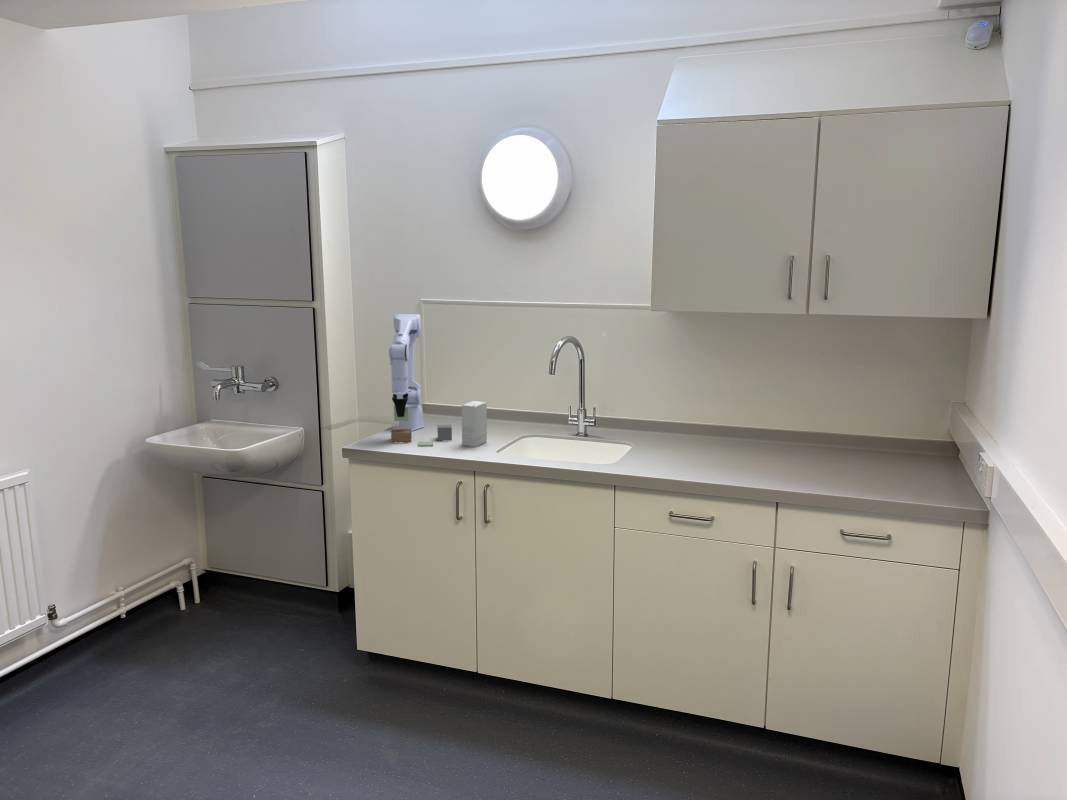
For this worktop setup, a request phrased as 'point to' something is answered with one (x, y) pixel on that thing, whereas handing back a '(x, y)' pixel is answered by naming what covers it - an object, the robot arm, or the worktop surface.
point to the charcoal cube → (444, 432)
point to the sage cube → (406, 414)
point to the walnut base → (401, 435)
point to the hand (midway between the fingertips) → (400, 415)
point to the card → (426, 443)
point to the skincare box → (474, 423)
